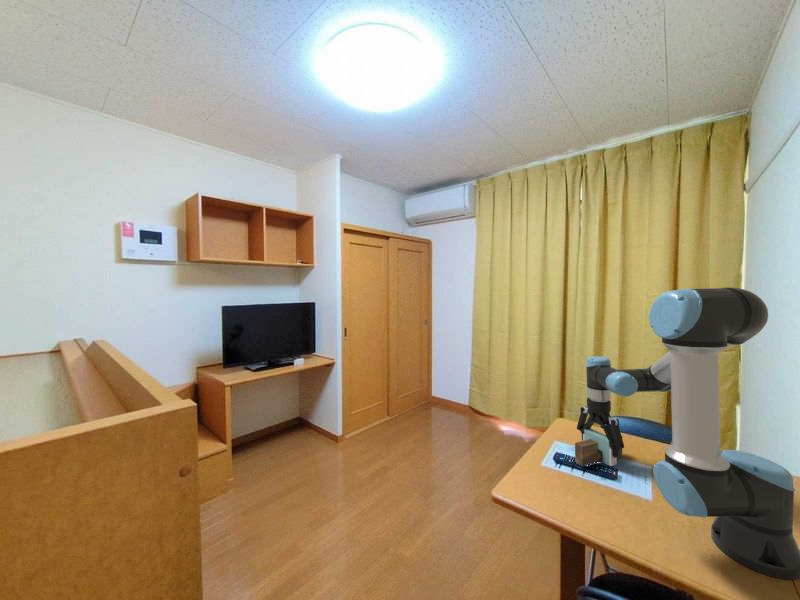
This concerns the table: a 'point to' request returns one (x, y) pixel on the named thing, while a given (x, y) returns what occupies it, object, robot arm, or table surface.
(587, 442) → the walnut fin
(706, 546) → the table surface
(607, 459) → the light blue piece
